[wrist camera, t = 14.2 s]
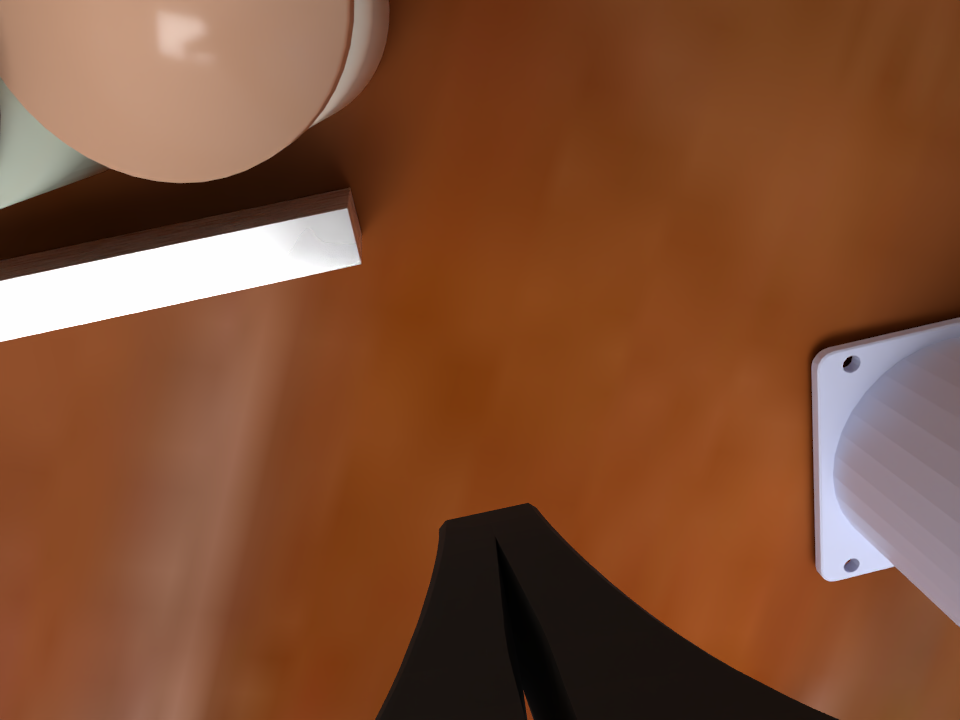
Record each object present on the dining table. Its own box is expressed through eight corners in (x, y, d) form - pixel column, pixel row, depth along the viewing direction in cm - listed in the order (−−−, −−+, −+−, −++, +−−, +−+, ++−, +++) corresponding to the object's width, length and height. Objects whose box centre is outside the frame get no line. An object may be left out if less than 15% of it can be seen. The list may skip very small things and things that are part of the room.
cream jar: (352, -165, 15) (267, -303, 9) (422, 98, 17) (392, 133, 11) (112, -94, 16) (-124, -178, 10) (207, 155, 18) (63, 220, 12)
